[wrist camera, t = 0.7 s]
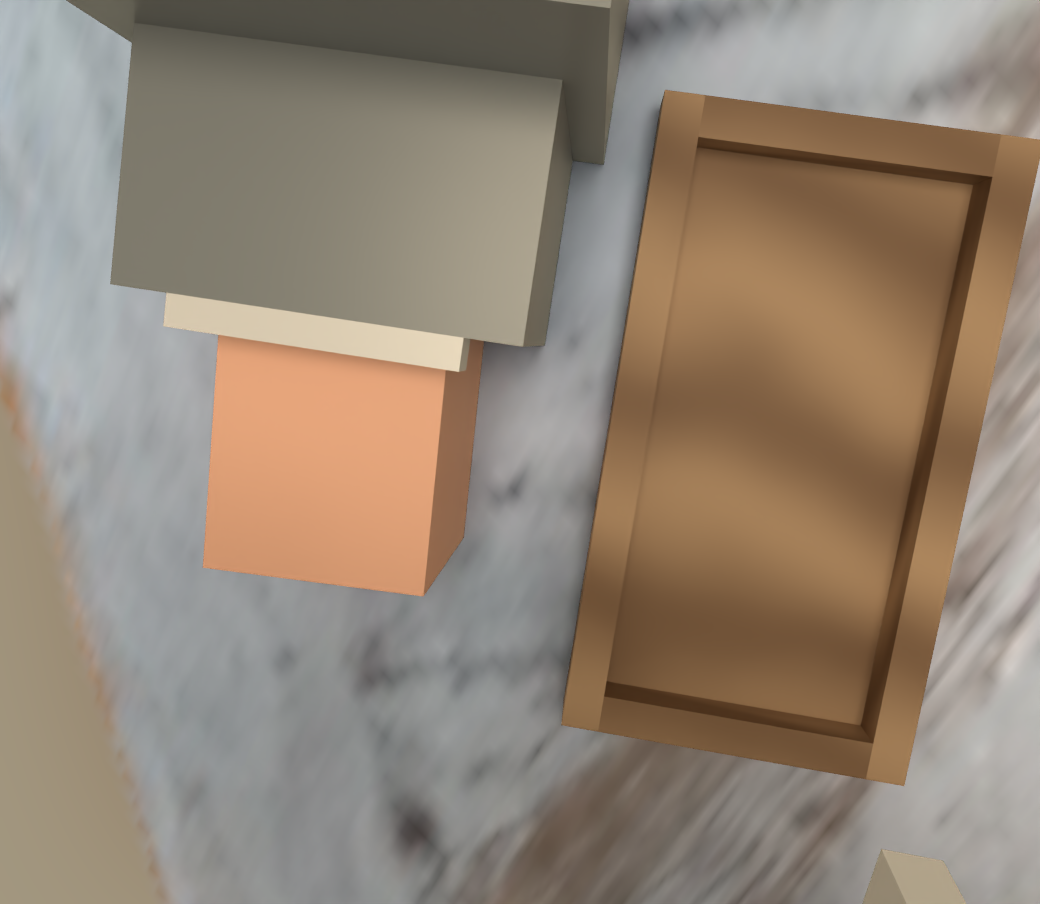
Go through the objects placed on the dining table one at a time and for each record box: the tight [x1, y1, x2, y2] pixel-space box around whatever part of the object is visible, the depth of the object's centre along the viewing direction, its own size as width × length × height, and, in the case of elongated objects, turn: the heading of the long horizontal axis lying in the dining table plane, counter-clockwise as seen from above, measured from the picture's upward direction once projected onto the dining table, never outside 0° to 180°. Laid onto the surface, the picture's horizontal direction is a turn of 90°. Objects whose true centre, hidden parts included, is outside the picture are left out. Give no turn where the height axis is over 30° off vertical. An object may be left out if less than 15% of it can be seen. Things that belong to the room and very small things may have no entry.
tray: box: [561, 90, 1040, 786], centre depth 29 cm, size 20×11×2 cm, turn 171°
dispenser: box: [66, 0, 629, 372], centre depth 23 cm, size 13×12×14 cm
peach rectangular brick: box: [203, 335, 484, 596], centre depth 27 cm, size 12×6×8 cm, turn 174°
